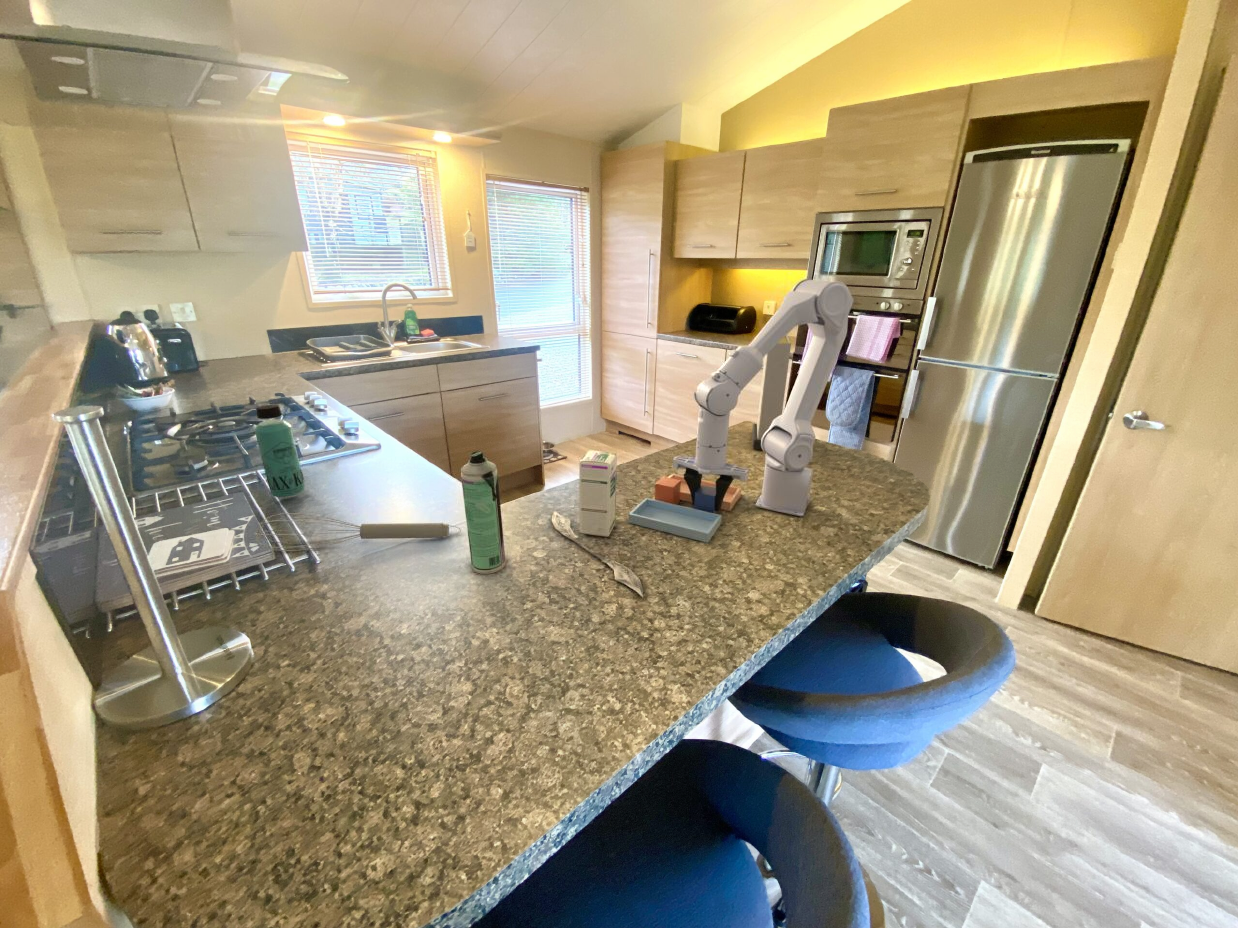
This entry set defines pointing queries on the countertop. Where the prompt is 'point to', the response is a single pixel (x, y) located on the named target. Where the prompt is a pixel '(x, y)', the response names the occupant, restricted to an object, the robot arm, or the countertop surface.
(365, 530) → the kitchen whisk
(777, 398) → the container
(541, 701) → the countertop surface
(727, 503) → the peach tray
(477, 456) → the spray can
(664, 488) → the terracotta block
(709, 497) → the blue block
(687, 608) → the countertop surface
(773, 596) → the countertop surface
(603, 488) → the syrup box
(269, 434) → the beverage bottle
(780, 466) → the robot arm
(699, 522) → the blue tray
